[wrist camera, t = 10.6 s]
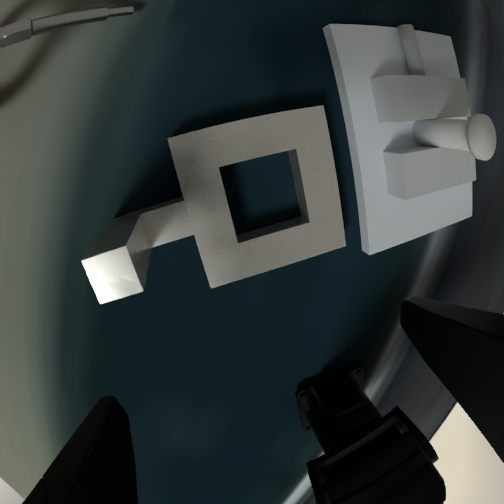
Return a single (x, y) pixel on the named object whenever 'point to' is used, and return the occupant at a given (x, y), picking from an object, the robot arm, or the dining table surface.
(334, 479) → the robot arm
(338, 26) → the plate with round-ended peg
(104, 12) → the tow hook
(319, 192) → the square frame with handle
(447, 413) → the dining table surface
